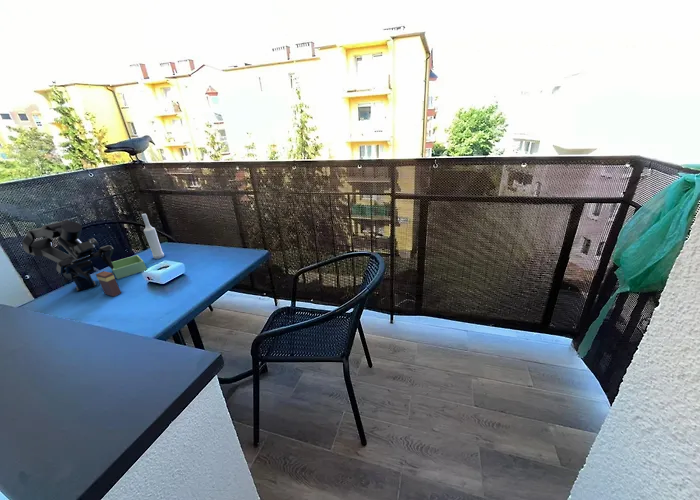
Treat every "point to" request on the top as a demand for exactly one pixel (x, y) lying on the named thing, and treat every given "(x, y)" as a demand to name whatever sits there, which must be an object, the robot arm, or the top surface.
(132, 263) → the green open tray
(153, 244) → the bottle
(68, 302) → the top surface
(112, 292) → the chocolate bar
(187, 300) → the top surface
